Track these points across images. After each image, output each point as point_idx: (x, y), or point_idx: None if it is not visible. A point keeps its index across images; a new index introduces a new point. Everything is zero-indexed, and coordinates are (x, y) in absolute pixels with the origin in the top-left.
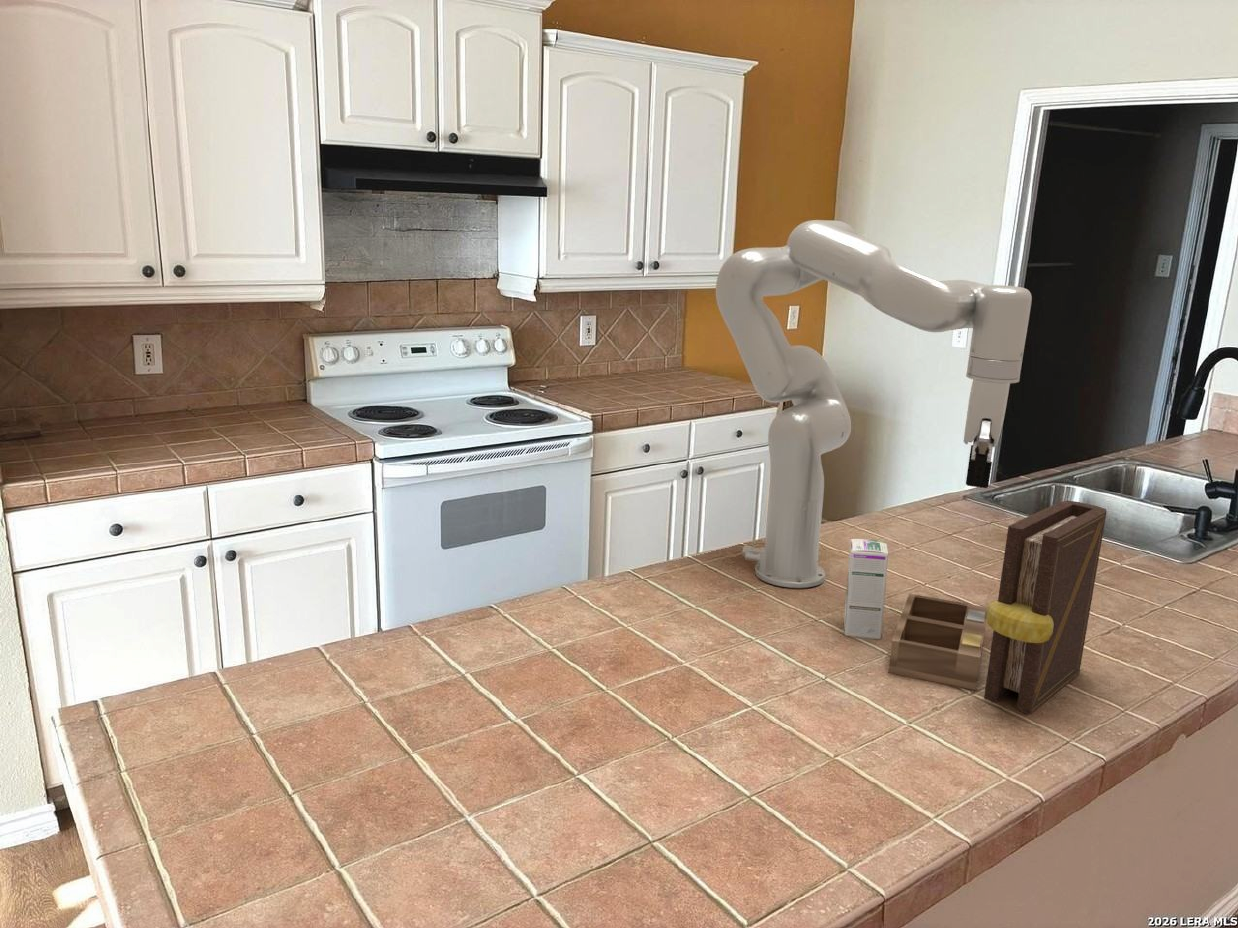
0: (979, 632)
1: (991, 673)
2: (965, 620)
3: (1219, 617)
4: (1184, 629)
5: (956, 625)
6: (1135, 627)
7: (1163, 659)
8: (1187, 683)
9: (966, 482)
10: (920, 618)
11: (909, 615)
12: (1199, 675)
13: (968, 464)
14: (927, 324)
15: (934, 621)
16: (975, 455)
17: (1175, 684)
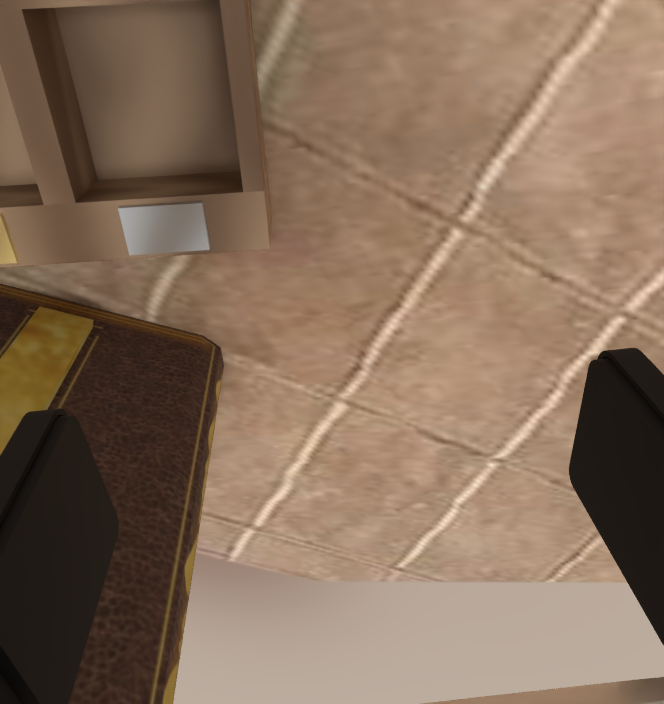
0: (53, 251)
1: None
2: (117, 203)
3: (597, 573)
4: (515, 536)
5: (55, 184)
6: (491, 477)
7: (351, 515)
8: (265, 542)
9: (22, 423)
10: (23, 60)
11: (20, 14)
12: (310, 554)
13: (623, 372)
14: None
15: (35, 112)
16: (655, 486)
17: (248, 530)
